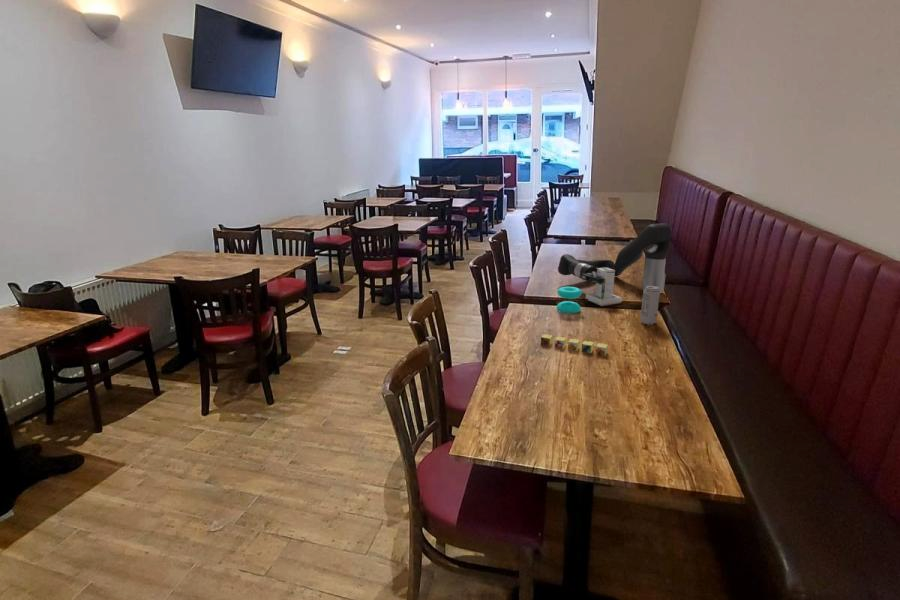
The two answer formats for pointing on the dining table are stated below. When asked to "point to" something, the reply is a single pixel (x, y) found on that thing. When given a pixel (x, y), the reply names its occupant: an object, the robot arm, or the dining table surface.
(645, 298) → the energy drink can
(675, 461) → the dining table surface
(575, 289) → the donuts
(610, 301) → the tray
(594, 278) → the robot arm
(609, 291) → the syrup box
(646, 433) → the dining table surface
